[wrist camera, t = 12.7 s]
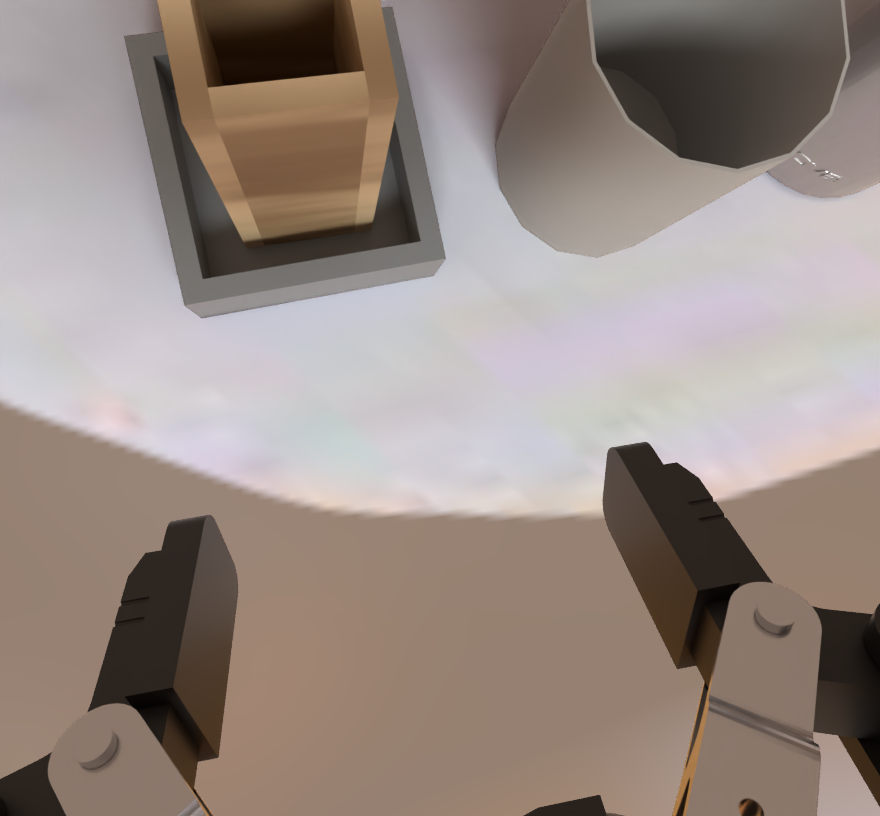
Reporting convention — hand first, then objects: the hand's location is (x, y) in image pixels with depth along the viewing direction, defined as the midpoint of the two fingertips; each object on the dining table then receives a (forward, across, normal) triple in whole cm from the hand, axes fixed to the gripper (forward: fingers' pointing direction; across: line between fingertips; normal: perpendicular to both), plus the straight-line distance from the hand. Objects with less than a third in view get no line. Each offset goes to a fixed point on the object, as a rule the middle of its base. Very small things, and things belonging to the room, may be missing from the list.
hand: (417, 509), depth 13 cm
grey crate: (+18, +3, -2) cm, 18 cm away
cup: (+19, -10, 0) cm, 21 cm away
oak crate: (+17, +2, -2) cm, 18 cm away
